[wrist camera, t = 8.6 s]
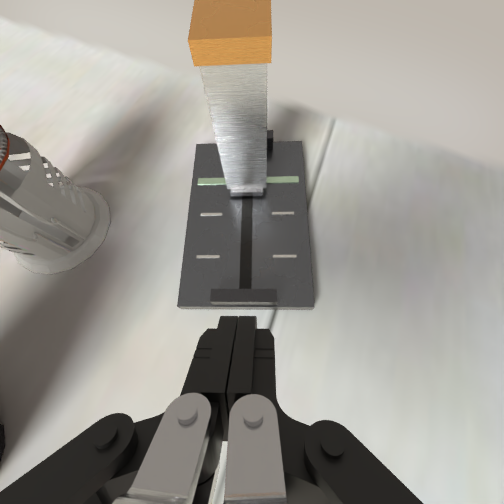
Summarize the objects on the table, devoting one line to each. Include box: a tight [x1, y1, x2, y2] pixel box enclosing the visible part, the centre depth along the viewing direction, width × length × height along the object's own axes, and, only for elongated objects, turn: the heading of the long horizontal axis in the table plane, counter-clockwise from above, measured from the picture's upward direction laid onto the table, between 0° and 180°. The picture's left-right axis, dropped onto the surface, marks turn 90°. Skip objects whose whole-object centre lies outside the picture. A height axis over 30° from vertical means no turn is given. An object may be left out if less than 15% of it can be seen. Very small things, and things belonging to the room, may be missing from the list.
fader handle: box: [188, 0, 272, 196], centre depth 19 cm, size 4×4×13 cm
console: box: [177, 130, 314, 310], centre depth 23 cm, size 17×11×3 cm, turn 179°
